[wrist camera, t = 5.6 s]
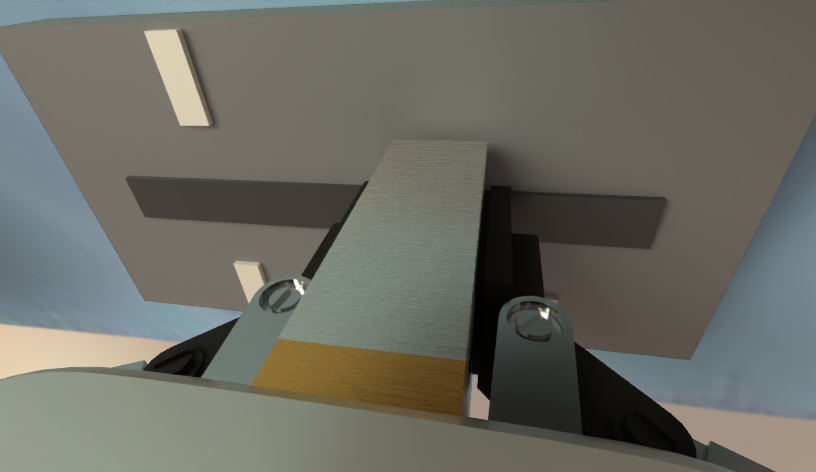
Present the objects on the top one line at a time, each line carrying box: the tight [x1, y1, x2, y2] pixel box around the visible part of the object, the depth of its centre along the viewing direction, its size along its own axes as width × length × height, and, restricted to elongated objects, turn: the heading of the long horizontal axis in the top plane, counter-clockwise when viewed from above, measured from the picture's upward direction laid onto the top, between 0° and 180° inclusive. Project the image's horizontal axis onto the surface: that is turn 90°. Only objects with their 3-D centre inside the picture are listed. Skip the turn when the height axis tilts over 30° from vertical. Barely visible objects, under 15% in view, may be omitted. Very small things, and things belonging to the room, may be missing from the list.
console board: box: [0, 0, 816, 360], centre depth 14 cm, size 22×11×2 cm, turn 93°
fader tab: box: [250, 139, 487, 417], centre depth 9 cm, size 2×5×8 cm, turn 3°
